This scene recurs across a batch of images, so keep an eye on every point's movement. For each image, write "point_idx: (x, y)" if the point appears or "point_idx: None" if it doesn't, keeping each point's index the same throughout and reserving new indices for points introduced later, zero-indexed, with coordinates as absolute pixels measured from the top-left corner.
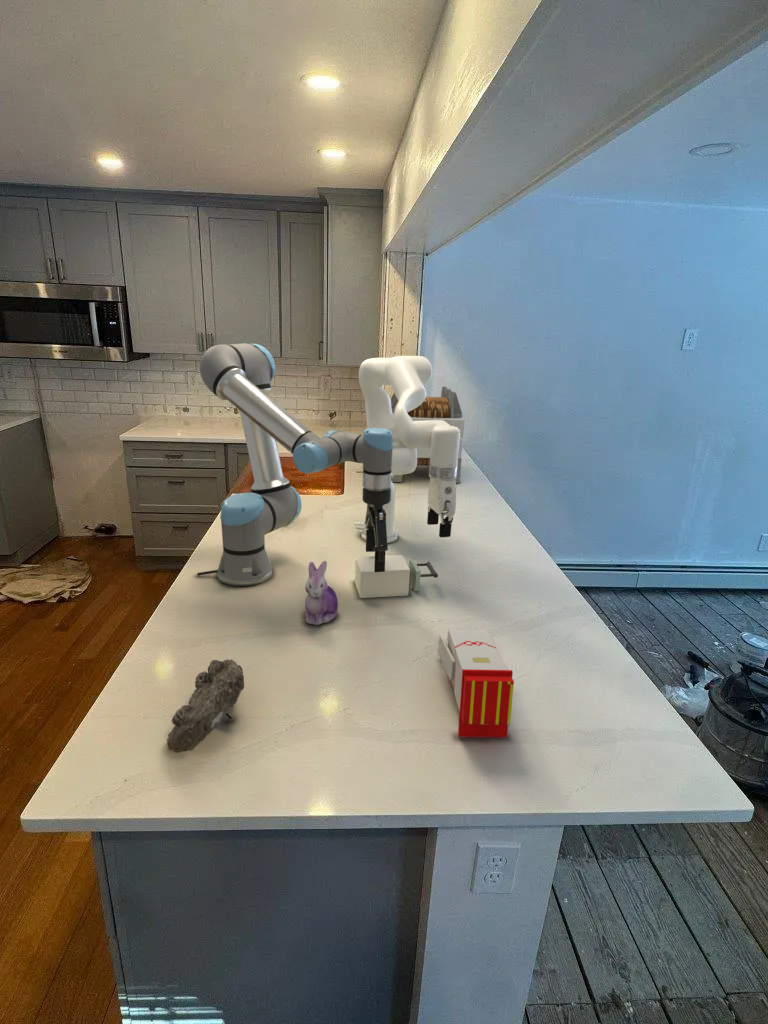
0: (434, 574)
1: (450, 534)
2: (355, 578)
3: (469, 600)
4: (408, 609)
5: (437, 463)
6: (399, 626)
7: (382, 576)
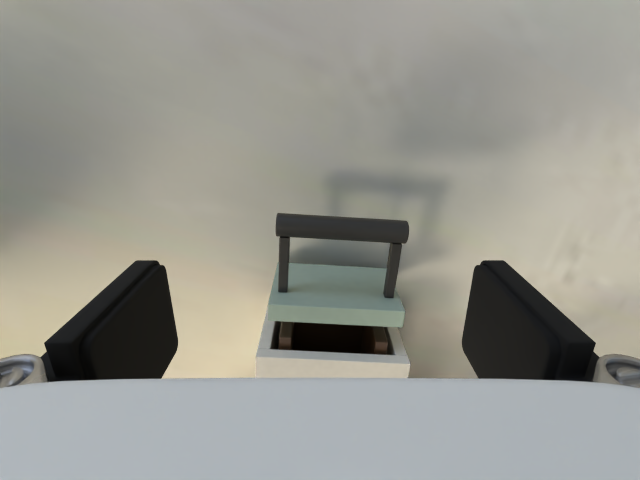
0: (406, 240)
1: (511, 268)
2: None
3: (490, 90)
4: None
5: None
6: None
7: None
